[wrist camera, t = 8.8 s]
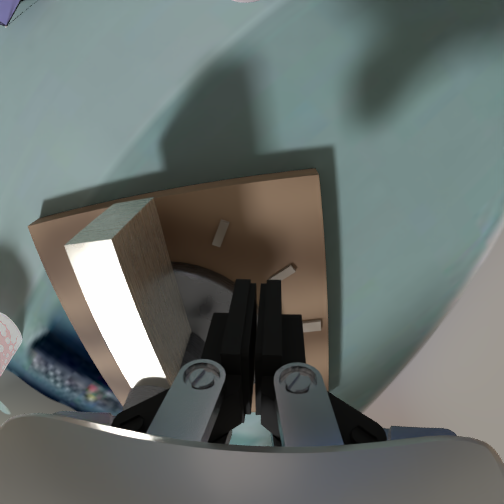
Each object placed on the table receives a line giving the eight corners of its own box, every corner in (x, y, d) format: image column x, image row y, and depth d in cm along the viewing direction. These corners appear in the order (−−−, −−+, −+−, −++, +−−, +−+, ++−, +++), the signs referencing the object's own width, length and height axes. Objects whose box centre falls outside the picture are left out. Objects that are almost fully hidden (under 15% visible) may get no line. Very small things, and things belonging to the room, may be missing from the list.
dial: (276, 386, 24) (273, 467, 18) (139, 384, 26) (113, 452, 19) (247, 177, 17) (228, 238, 10) (64, 207, 18) (-11, 264, 12)
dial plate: (326, 393, 27) (328, 408, 25) (127, 395, 29) (122, 408, 28) (315, 168, 18) (319, 175, 16) (39, 218, 20) (26, 227, 19)
